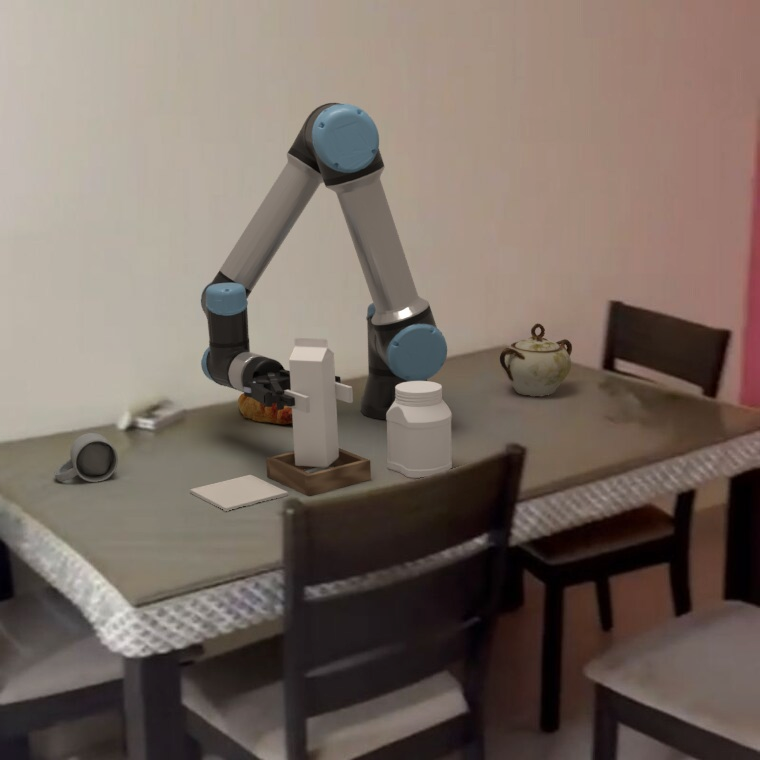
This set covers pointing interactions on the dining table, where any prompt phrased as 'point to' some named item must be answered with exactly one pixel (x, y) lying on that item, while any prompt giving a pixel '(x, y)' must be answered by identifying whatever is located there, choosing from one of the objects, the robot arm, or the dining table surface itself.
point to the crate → (319, 473)
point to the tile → (238, 492)
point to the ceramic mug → (89, 459)
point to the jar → (419, 430)
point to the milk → (314, 403)
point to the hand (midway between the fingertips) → (329, 399)
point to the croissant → (264, 411)
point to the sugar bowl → (536, 364)
